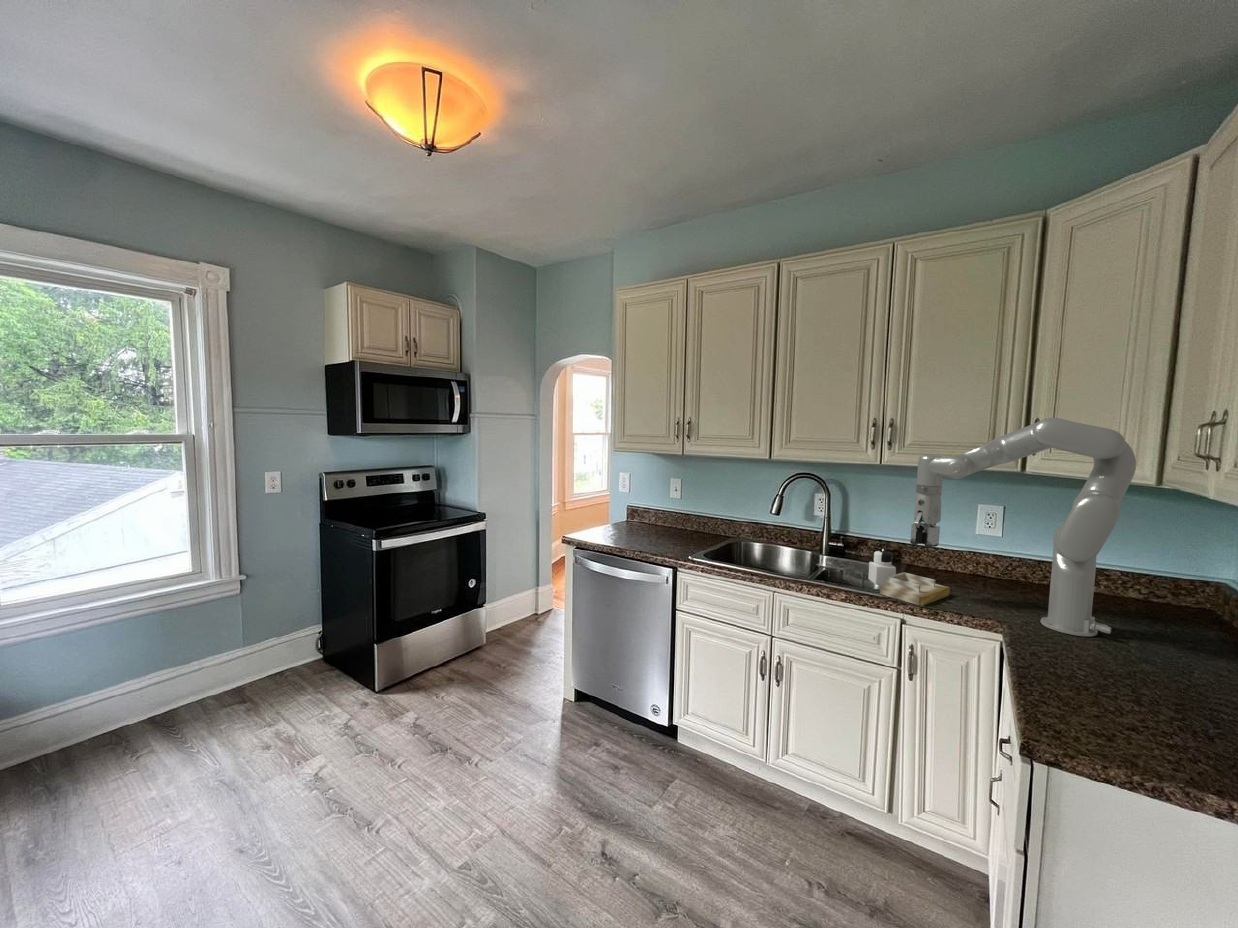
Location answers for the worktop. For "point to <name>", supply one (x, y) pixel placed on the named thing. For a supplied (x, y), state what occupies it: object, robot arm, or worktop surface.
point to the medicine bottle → (881, 568)
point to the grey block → (931, 538)
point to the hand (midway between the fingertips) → (924, 541)
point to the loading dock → (913, 589)
